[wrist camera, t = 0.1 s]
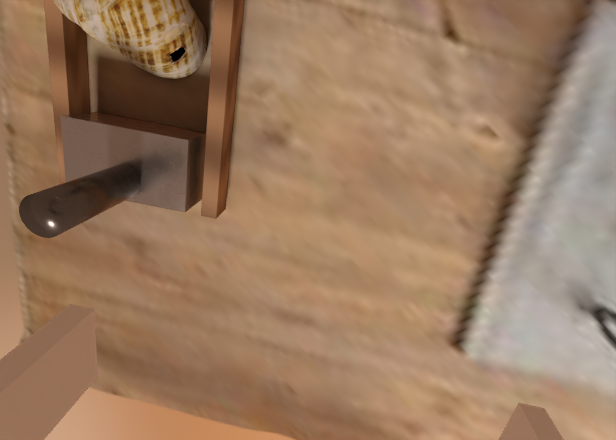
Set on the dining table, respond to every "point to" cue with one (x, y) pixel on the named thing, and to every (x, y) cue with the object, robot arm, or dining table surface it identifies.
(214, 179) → the press frame
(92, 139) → the grey plunger
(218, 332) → the dining table surface
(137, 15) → the seashell
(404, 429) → the dining table surface
